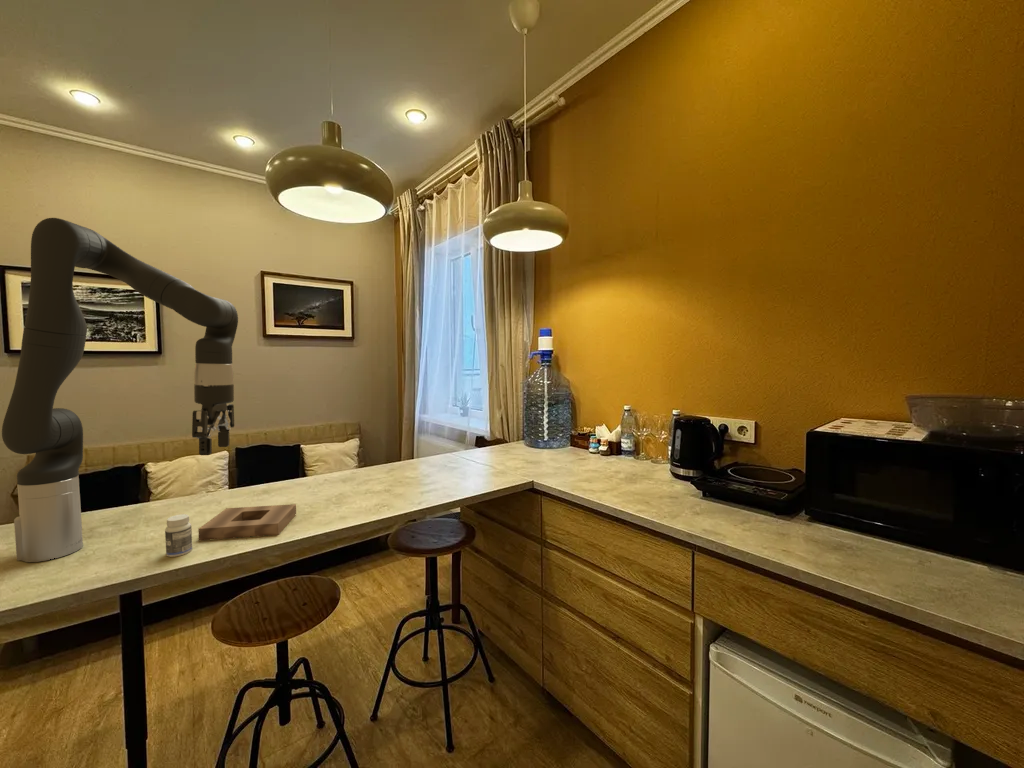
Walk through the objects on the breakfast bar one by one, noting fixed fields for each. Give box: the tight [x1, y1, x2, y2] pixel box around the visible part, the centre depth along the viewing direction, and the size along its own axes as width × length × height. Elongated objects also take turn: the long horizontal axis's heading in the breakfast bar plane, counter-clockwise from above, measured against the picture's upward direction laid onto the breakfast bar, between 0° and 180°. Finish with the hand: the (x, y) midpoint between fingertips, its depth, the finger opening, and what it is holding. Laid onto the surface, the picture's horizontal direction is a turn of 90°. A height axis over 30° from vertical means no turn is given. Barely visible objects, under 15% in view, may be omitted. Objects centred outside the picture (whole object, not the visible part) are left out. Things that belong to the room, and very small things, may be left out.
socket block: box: [198, 503, 297, 541], centre depth 108 cm, size 18×14×3 cm
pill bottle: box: [164, 513, 193, 558], centre depth 93 cm, size 5×5×8 cm
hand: (215, 450), depth 96 cm, fingers open, 8 cm apart
